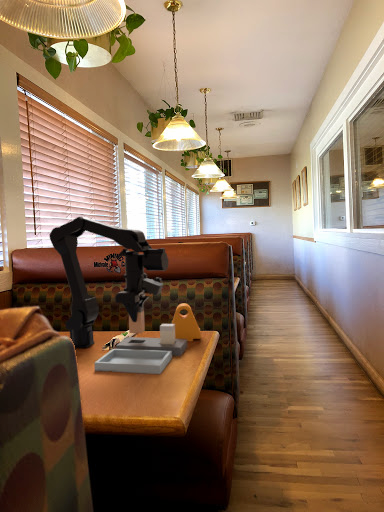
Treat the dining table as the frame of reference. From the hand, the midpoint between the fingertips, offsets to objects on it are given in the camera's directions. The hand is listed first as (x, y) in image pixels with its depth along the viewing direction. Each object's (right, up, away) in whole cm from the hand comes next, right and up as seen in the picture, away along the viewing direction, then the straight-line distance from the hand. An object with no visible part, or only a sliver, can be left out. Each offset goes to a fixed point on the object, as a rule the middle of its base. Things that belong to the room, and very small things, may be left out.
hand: (136, 320), depth 115 cm
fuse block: (+5, -9, 0) cm, 10 cm away
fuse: (+10, -9, -1) cm, 13 cm away
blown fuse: (0, -4, 0) cm, 4 cm away
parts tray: (+1, -10, -13) cm, 16 cm away
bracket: (+15, -8, +12) cm, 21 cm away
